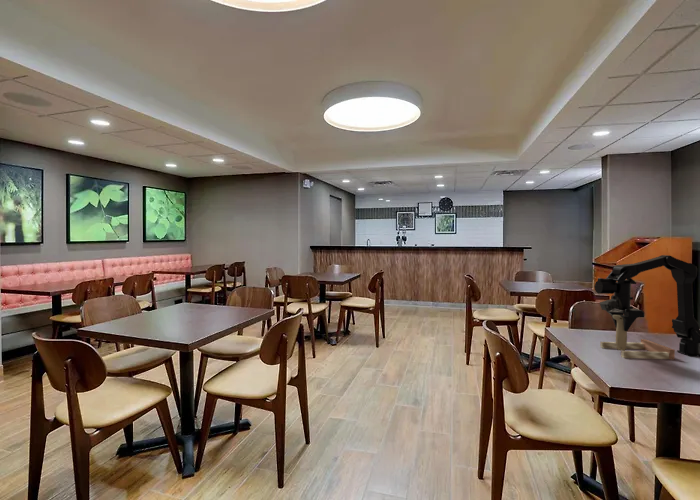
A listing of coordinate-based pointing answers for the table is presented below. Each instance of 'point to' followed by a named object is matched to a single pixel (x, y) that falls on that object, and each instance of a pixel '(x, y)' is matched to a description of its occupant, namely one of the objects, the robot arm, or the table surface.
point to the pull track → (654, 348)
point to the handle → (620, 334)
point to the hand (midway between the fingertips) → (621, 329)
